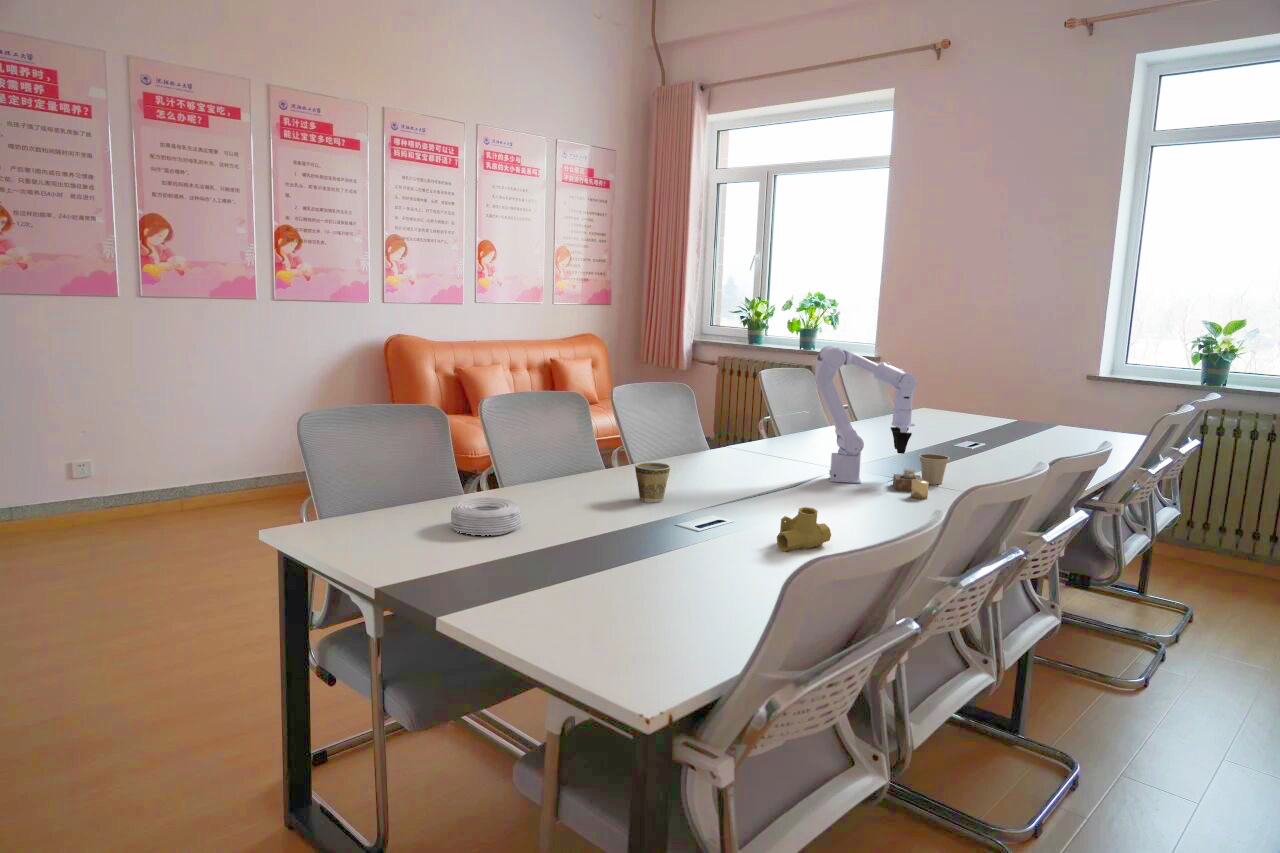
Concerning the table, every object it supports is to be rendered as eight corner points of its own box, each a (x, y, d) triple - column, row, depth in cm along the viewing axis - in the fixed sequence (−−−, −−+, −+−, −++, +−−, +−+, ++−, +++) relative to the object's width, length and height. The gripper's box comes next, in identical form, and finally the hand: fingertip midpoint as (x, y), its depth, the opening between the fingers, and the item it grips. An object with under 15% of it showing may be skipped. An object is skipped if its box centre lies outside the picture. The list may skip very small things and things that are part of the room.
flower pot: (951, 486, 273) (953, 459, 271) (921, 485, 273) (923, 459, 272) (941, 479, 282) (944, 454, 281) (913, 479, 282) (915, 453, 281)
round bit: (911, 499, 254) (912, 482, 254) (909, 495, 259) (910, 479, 258) (928, 500, 254) (929, 483, 253) (926, 496, 258) (927, 480, 257)
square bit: (903, 489, 267) (904, 470, 266) (902, 487, 270) (903, 468, 269) (913, 489, 267) (914, 470, 266) (912, 487, 270) (913, 469, 269)
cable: (491, 515, 226) (491, 493, 225) (536, 528, 215) (536, 505, 214) (436, 528, 212) (436, 504, 211) (481, 542, 201) (481, 517, 200)
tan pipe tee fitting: (831, 550, 204) (804, 534, 212) (835, 511, 201) (808, 496, 209) (788, 560, 198) (763, 543, 206) (792, 520, 195) (766, 504, 203)
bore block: (895, 490, 265) (896, 479, 265) (892, 484, 273) (893, 473, 272) (922, 491, 264) (923, 480, 263) (918, 486, 272) (919, 475, 271)
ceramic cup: (665, 505, 240) (666, 470, 238) (631, 502, 242) (631, 468, 240) (673, 494, 252) (674, 461, 251) (640, 492, 254) (641, 459, 253)
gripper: (918, 413, 267) (915, 456, 269) (912, 407, 281) (909, 447, 283) (895, 412, 268) (892, 454, 270) (890, 406, 282) (887, 446, 284)
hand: (899, 451), depth 277 cm, fingers open, 7 cm apart
